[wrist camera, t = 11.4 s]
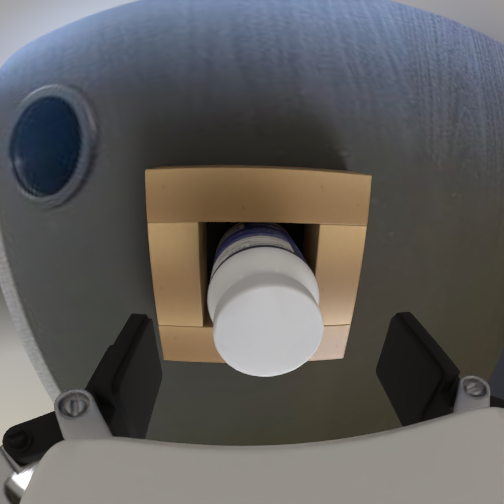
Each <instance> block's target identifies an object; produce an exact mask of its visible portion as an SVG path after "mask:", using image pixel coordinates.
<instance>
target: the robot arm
mask: <svg viewBox="0 0 504 504" xmlns="http://www.w3.org/2000/svg"><path fill="white" fill-rule="evenodd" d="M376 373H377V376H378V378H379V380H380V382H381V384H382V386H383V388H384V390H385V392H386V394H387V396H388V398H389V400H390V402H391V404H392V406H393V408H394V410H395V412H396V414H397V416H398V418H399V420H400V422H401V424H402V426H403V427H400V428H396V429H392V430H387V431H383V432H378V433H373V434H368V435H362V436H356V437H350V438H344V439H337V440H330V441H321V442H312V443H301V444H288V445H268V446H216V445H198V444H183V443H171V442H162V441H153V440H145V436H146V433H147V429H148V425H149V422H150V418H151V415H152V411H153V408H154V404H155V401H156V397H157V394H158V391H159V387H160V384H161V380H162V369H161V364H160V360H159V354H158V349H157V344H156V338H155V333H154V327H153V321H152V319H149V318H148V317H147V315H146V314H131V315H130V317H129V319H128V320H127V322H126V324H125V326H124V327H123V329H122V331H121V332H120V334H119V336H118V337H117V339H116V341H115V343H114V344H113V345H110V346H109V348H108V349H107V351H106V352H105V354H104V356H103V358H102V359H101V361H100V363H99V365H98V367H97V368H96V370H95V372H94V374H93V375H92V377H91V379H90V381H89V383H88V385H87V386H86V388H85V390H84V389H80V388H74V389H69V390H66V391H64V392H62V393H61V394H60V395H59V396H58V397H57V398H56V400H55V403H54V410H55V411H53V412H50V413H48V414H45V415H43V416H40V417H37V418H34V419H32V420H29V421H26V422H24V423H21V424H18V425H15V426H13V427H11V428H9V429H8V430H7V431H6V433H5V434H4V437H3V445H1V446H0V504H504V400H503V399H500V398H497V397H494V396H491V395H490V387H489V386H488V383H487V382H486V381H485V380H484V379H482V378H481V377H479V376H476V375H465V376H463V377H462V378H461V379H460V378H459V377H458V375H459V373H460V371H459V369H458V368H457V367H456V366H455V364H454V363H453V362H452V361H451V359H450V358H449V357H448V356H447V354H446V353H445V352H444V351H443V350H442V348H441V347H440V346H439V345H438V344H437V342H436V341H435V340H434V339H433V338H432V336H431V335H430V334H429V333H428V332H427V331H426V329H425V328H424V327H423V326H422V325H421V324H420V323H419V321H418V320H417V319H416V318H415V317H414V316H413V315H412V313H410V312H401V313H396V315H395V316H394V317H392V319H391V322H390V325H389V329H388V332H387V336H386V339H385V342H384V346H383V349H382V352H381V355H380V358H379V361H378V364H377V367H376Z"/></svg>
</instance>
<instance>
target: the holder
mask: <svg viewBox="0 0 504 504" xmlns="http://www.w3.org/2000/svg"><path fill="white" fill-rule="evenodd" d="M371 178H372V176H371V175H367V174H362V173H358V172H353V171H348V170H336V169H323V168H309V167H290V166H265V165H181V166H162V167H157V168H152V169H147V170H145V188H146V210H147V222H148V223H147V225H148V239H149V251H150V261H151V271H152V280H153V289H154V297H155V305H156V312H157V319H158V324H159V325H158V326H159V332H160V338H161V344H162V350H163V356H164V360H174V361H192V362H221V363H226V362H225V360H224V359H223V358H222V357H221V356H220V354H219V353H218V351H217V349H216V346H215V344H214V339H213V322H212V320H211V317H210V314H209V310H208V303H207V297H208V272H207V236H206V222H268V223H305V224H304V238H303V251H302V256H303V257H304V259H305V261H306V262H307V264H308V265H309V267H310V269H311V270H312V272H313V274H314V276H315V278H316V281H317V284H318V289H319V306H318V307H319V309H320V311H321V314H322V317H323V324H324V329H323V336H322V339H321V342H320V345H319V346H318V348H317V350H316V351H315V353H314V354H313V355H312V356H311V358H309V359H308V360H307V361H314V360H328V359H340V358H343V356H344V352H345V348H346V344H347V339H348V335H349V330H350V325H351V320H352V315H353V310H354V305H355V300H356V294H357V289H358V283H359V277H360V271H361V264H362V258H363V251H364V243H365V236H366V228H367V227H366V225H367V221H368V212H369V201H370V190H371Z"/></svg>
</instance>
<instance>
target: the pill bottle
mask: <svg viewBox="0 0 504 504" xmlns="http://www.w3.org/2000/svg"><path fill="white" fill-rule="evenodd" d="M207 303H208V310H209V314H210V317H211V320H212V322H213V339H214V344H215V346H216V349H217V351H218V353H219V354H220V356H221V357H222V358H223V359H224V360H225V362H226V363H227V364H229V365H230V366H231V367H233V368H234V369H236V370H238V371H240V372H243V373H246V374H249V375H253V376H263V377H266V376H276V375H281V374H284V373H287V372H290V371H292V370H294V369H296V368H298V367H300V366H301V365H302V364H304V363H305V362H306V361H307V360H308V359H309V358H311V356H312V355H313V354H314V353H315V351H316V350H317V348H318V346H319V345H320V342H321V339H322V336H323V329H324V324H323V317H322V314H321V311H320V309H319V307H318V306H319V289H318V284H317V281H316V278H315V276H314V274H313V272H312V270H311V269H310V267H309V265H308V264H307V262H306V261H305V259H304V257H303V256H302V254H301V252H300V251H299V249H298V247H297V246H296V244H295V243H294V241H293V239H292V238H291V236H290V235H289V234H288V232H287V231H286V230H285V229H283V228H282V227H281V226H279V225H278V224H276V223H268V222H240V223H238V224H236V225H234V226H233V227H231V228H230V229H229V230H228V231H227V232H226V233H225V234H224V236H223V237H222V238H221V240H220V242H219V244H218V247H217V250H216V254H215V259H214V264H213V269H212V274H211V278H210V282H209V287H208V297H207Z"/></svg>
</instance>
